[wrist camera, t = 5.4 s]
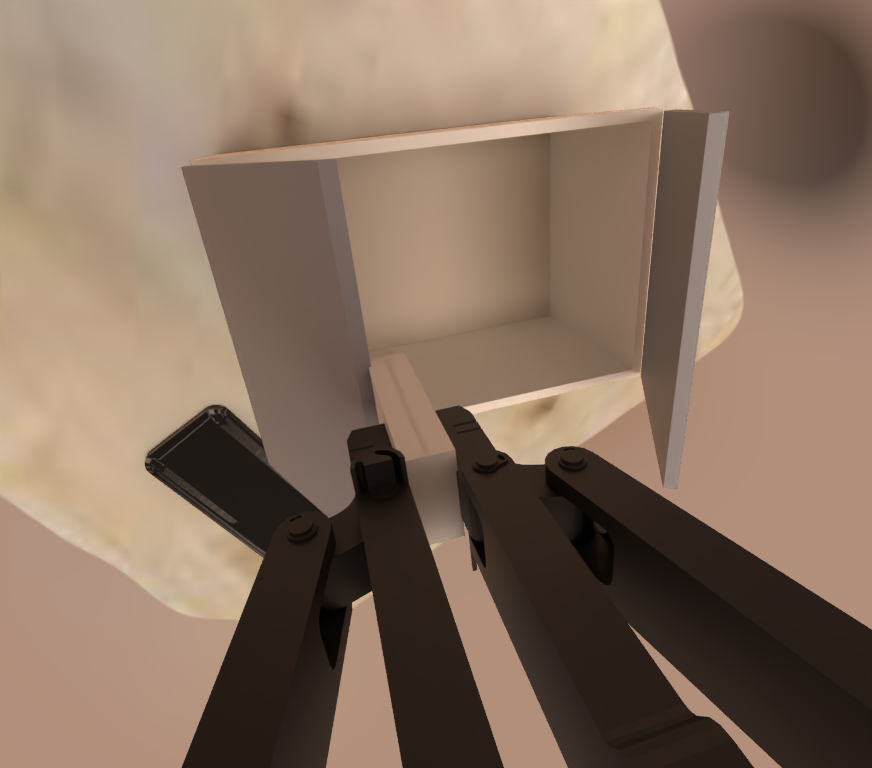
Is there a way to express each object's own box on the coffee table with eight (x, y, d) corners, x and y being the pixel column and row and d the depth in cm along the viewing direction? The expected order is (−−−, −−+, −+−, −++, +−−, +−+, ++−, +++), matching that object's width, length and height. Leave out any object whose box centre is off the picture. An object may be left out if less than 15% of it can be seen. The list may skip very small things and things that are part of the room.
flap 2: (709, 113, 17) (729, 111, 17) (664, 110, 27) (676, 109, 27) (663, 488, 24) (677, 489, 24) (640, 375, 34) (650, 376, 34)
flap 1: (195, 165, 23) (181, 167, 22) (335, 158, 14) (316, 161, 14) (278, 459, 30) (268, 463, 29) (405, 568, 21) (394, 576, 21)
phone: (216, 403, 40) (339, 514, 47) (217, 397, 41) (338, 506, 48) (136, 464, 40) (271, 565, 47) (139, 457, 41) (271, 556, 48)
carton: (217, 154, 34) (189, 160, 23) (555, 116, 38) (663, 106, 28) (275, 375, 41) (275, 458, 30) (554, 320, 46) (639, 375, 35)
